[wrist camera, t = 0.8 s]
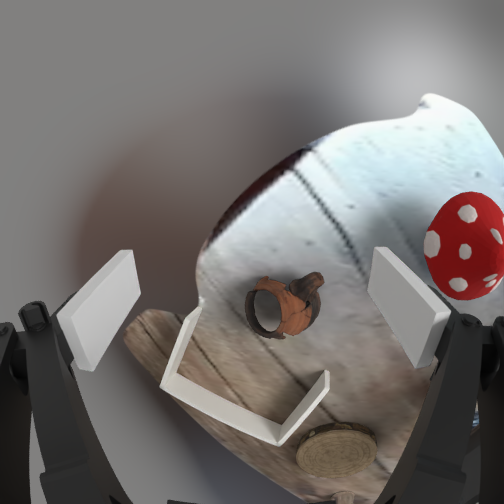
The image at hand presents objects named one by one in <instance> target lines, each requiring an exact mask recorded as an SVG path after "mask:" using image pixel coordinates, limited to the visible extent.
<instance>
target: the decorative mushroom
mask: <svg viewBox="0 0 504 504" xmlns="http://www.w3.org/2000/svg"><path fill="white" fill-rule="evenodd" d="M424 255H425V259H426V262H427V265H428V268H429V271H430V273H431V276H432V278H433V281H434V282H435V284H436V285H437V286H438V288H439V289H440V290H441V291H442V292H443V293H444V294H446V295H447V296H448V297H451V298H454V299H456V300H472V299H475V298H479V297H481V296H484V295H486V294H488V293H490V292H492V291H493V290H494V289H495V288H496V287H497V286H498V285H499V283H500V282H501V280H502V278H503V275H504V214H503V212H502V211H501V209H500V208H499V206H498V205H497V204H496V203H495V202H494V201H493V200H492V199H491V198H489V197H487V196H486V195H484V194H482V193H477V192H464V193H460V194H458V195H456V196H454V197H452V198H451V199H450V200H449V201H447V202H446V203H445V204H444V205H443V206H442V208H441V209H440V210H439V212H438V213H437V215H436V216H435V218H434V220H433V221H432V223H431V225H430V226H429V228H428V230H427V233H426V236H425V239H424Z"/></svg>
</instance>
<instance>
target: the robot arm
mask: <svg viewBox="0 0 504 504" xmlns="http://www.w3.org/2000/svg"><path fill="white" fill-rule="evenodd" d="M367 292H368V293H369V295H370V297H371V298H372V300H373V301H374V303H375V304H376V306H377V307H378V309H379V310H380V312H381V313H382V315H383V317H384V318H385V320H386V321H387V323H388V325H389V326H390V328H391V329H392V331H393V333H394V334H395V336H396V337H397V339H398V341H399V342H400V344H401V346H402V347H403V349H404V351H405V352H406V354H407V356H408V357H409V359H410V361H411V363H412V364H413V366H414V368H415V369H418V368H423V367H427V366H430V364H431V362H432V360H433V357H434V355H435V356H436V357H437V359H438V360H439V361H438V363H437V365H436V368H435V370H434V372H433V374H432V376H431V378H430V380H431V384H430V387H429V390H428V393H427V396H426V398H425V401H424V404H423V407H422V409H421V412H420V414H419V417H418V420H417V422H416V424H415V427H414V429H413V432H412V434H411V436H410V438H409V441H408V443H407V445H406V447H405V449H404V451H403V454H402V456H401V458H400V460H399V462H398V464H397V466H396V468H395V469H394V471H393V473H392V475H391V477H390V479H389V481H388V482H387V484H386V486H385V488H384V489H383V491H382V493H381V494H380V496H379V497H378V499H377V500H376V501H375V503H374V504H504V316H499V317H497V318H496V319H495V321H494V324H493V326H483V325H482V323H481V321H480V320H479V319H478V318H476V317H475V316H472V315H470V314H459V312H458V311H457V310H456V309H455V308H454V307H453V306H452V305H451V304H450V303H449V302H447V300H446V299H445V298H444V297H442V295H441V294H440V293H439V292H438V291H437V290H436V289H434V288H432V287H431V286H429V285H426V284H425V283H424V282H423V281H422V280H421V279H420V278H419V277H418V276H417V275H416V274H415V273H414V272H413V271H412V270H411V269H410V268H408V267H407V266H406V265H405V264H404V263H403V262H402V261H401V260H400V259H399V258H398V257H397V256H396V255H395V254H394V253H393V252H392V251H390V250H389V249H388V248H387V247H374V252H373V259H372V265H371V272H370V278H369V284H368V289H367ZM140 295H141V293H140V288H139V282H138V277H137V272H136V267H135V261H134V256H133V250H120V251H119V252H118V253H117V254H116V255H115V256H114V257H113V258H112V259H111V260H110V261H108V262H107V263H106V264H105V265H104V266H103V267H102V268H101V269H100V270H99V271H98V272H97V273H96V274H95V275H94V276H93V277H92V278H91V279H90V280H89V281H88V282H87V283H86V284H85V285H84V286H83V287H82V288H81V289H80V290H78V291H77V292H75V293H74V294H72V295H71V296H70V297H69V298H68V299H67V300H66V302H64V303H63V304H62V305H61V306H60V307H59V308H58V309H57V310H56V312H54V313H53V315H52V316H51V317H50V316H49V313H48V311H47V308H46V305H45V303H44V302H42V301H34V302H31V303H28V304H26V305H25V306H23V307H22V308H21V309H20V310H19V313H18V314H19V317H20V319H21V322H22V324H23V327H24V329H25V331H22V332H16V330H15V328H14V325H13V324H12V323H10V322H5V323H0V504H31V498H30V479H29V445H30V426H31V414H32V412H33V417H34V423H35V429H36V433H37V438H38V442H39V446H40V451H41V455H42V458H43V461H44V465H45V470H46V471H45V472H44V473H41V474H40V482H41V486H42V489H43V492H44V495H45V498H46V501H47V504H133V503H132V502H131V500H130V499H129V498H128V496H127V495H126V493H125V491H124V490H123V488H122V486H121V484H120V482H119V481H118V479H117V477H116V475H115V473H114V471H113V469H112V467H111V465H110V463H109V461H108V459H107V457H106V455H105V453H104V451H103V449H102V446H101V444H100V442H99V440H98V438H97V435H96V433H95V431H94V428H93V426H92V424H91V421H90V418H89V416H88V413H87V410H86V408H85V405H84V402H83V399H82V397H81V394H80V391H79V388H78V385H77V381H76V379H75V375H74V372H73V369H72V367H71V365H70V364H71V362H72V361H73V359H75V362H76V364H77V366H78V368H79V369H82V370H87V371H92V372H93V371H94V369H95V368H96V366H97V364H98V363H99V361H100V359H101V357H102V356H103V354H104V352H105V350H106V349H107V347H108V345H109V344H110V342H111V341H112V339H113V337H114V336H115V334H116V332H117V330H118V329H119V327H120V326H121V324H122V323H123V321H124V319H125V318H126V316H127V315H128V313H129V312H130V310H131V308H132V307H133V305H134V303H135V302H136V301H137V299H138V298H139V296H140ZM476 402H478V412H479V424H478V425H477V426H476V427H474V428H473V429H472V424H473V419H474V414H475V408H476ZM471 429H472V430H471ZM167 504H196V503H187V502H180V501H173V500H168V501H167ZM309 504H336V500H332V501H325V502H317V503H309Z"/></svg>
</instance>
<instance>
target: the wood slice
mask: <svg viewBox="0 0 504 504" xmlns="http://www.w3.org/2000/svg"><path fill="white" fill-rule="evenodd" d="M377 451H378V450H377V442H376V438H375V435H374V433H373V432H372V431H371V430H370V429H369V428H367V427H365V426H363V425H360V424H357V423H350V422H336V423H330V424H326V425H322V426H319V427H317V428H315V429H313V430H310V431H309V432H308V433H306V434H305V435H304V436H303V437H302V438H301V440H300V442H299V444H298V447H297V453H296V462H297V463H298V465H299V467H300V468H301V469H302V470H304V471H305V472H307V473H309V474H311V475H314V476H317V477H324V478H340V477H345V476H349V475H353V474H355V473H357V472H360V471H362V470H363V469H365V468H366V467H368V466H369V465H370V464H371V463H372V462H373V460H374V459H375V458H376V455H377Z"/></svg>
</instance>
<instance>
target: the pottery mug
mask: <svg viewBox="0 0 504 504" xmlns="http://www.w3.org/2000/svg"><path fill="white" fill-rule="evenodd" d="M268 278H269V277H268V276H265V277H264V278H262V279H261V280H260V281H259V282H258V283H257V284H256V286H255V288H254V289H253V291H250V292H248V294H247V296H246V301H245V312H246V317H247V320H248V322H249V325H250V326H251V328H252V329H253V330H254V331H255V332H256V333H257V334H259V335H260V336H262V337H265V338H269V339H271V338H276V339H285V338H286V337H285V336H283V332H285V333H287V334H289V335H292V336H294V335H297V334H299V333H300V332H301V331H302V330H303V331H304V330H305V329H307V328H308V327H309V326H311V324H312V323H313V322H314V320H315V319H316V318H317V316H318V314H319V311H320V305H321V302H320V297H319V294H318V292H317V289H318V288H319V287H320V286H322V285H323V284H324V279H323V276H322V275H321V274H320V273H319V272H313V273H310V274H308V275H306V276H305V277H303V278H302V279H300V280H299V279H297V280H293V281H292V282H291V284H290V285H289V290H290V292H289V291H286V290H285V287H286V285H285V284H283V283H281V282H278V281H274V280H268ZM258 290H267V291H269V292H271V293H272V294H273V295H274V296H275V297H276V298H277V300H278V302H279V304H280V307H281V314H282V317H281V322H280V325H279V327H278V328H277V329H276V330H275V331H272V332H270V331H267V330H266V329H264V328H263V327H262V326H261V325H260V324H259V322H258V320H257V318H256V316H255V309H254V297H255V295H256V293H257V291H258ZM307 301H308V302H309V304H308V305H307V306H306V303H305V302H307ZM305 306H306V307H305Z"/></svg>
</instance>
